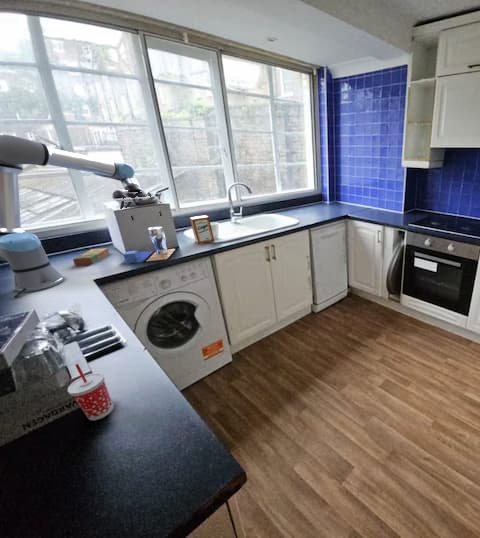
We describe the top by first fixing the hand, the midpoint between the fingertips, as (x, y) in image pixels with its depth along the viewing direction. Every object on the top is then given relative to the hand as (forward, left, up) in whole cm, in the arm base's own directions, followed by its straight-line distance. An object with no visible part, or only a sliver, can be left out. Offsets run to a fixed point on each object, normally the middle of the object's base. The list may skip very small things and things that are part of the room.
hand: (147, 217), depth 167 cm
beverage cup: (-128, -25, -20) cm, 132 cm away
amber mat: (-11, -5, -20) cm, 23 cm away
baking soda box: (+10, -24, -20) cm, 33 cm away
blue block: (-18, +6, -19) cm, 27 cm away
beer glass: (-9, -5, -19) cm, 22 cm away
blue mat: (-11, +6, -20) cm, 24 cm away
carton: (-6, +30, -20) cm, 36 cm away
